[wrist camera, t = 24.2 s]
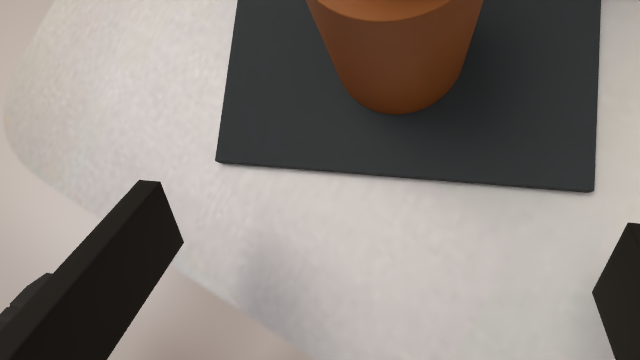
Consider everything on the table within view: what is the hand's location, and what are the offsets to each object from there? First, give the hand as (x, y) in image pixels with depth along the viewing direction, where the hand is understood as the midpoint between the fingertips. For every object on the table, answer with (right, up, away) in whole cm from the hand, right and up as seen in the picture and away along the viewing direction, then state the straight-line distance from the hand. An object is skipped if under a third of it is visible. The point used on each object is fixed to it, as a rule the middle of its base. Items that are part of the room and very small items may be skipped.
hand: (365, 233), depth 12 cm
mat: (+2, +7, +6) cm, 10 cm away
